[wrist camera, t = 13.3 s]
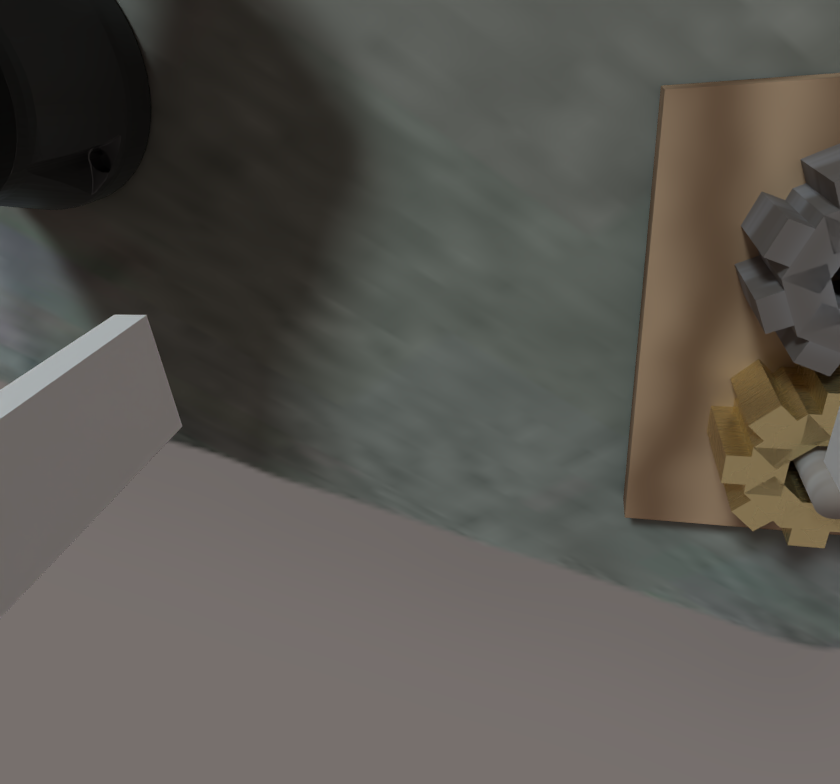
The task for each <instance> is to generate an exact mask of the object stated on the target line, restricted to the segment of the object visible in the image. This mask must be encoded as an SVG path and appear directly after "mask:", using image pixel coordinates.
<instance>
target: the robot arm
mask: <svg viewBox="0 0 840 784" xmlns="http://www.w3.org/2000/svg"><path fill="white" fill-rule="evenodd" d="M150 118H151V105H150V93H149V85H148V80H147V75H146V70H145V66H144V63H143V59H142V56H141V53H140V50H139V47H138V45H137V42H136V40H135V37H134V35H133V32H132V30H131V28H130V26H129V24H128V22H127V20H126V18H125V17H124V15H123V13H122V11H121V10H120V8H119V6H118V5H117V3H116V1H115V0H0V206H8V207H21V208H34V209H47V210H58V209H68V208H74V207H78V206H81V205H84V204H87V203H90V202H92V201H95V200H98V199H100V198H103V197H105V196H108V195H109V194H111V193H113V192H115V191H116V190H118V189H119V188H120V187H121V186H123V185H124V184H125V183H126V182H127V181H128V180H129V178H130V177H131V176H132V175H133V173H134V172H135V170H136V169H137V167H138V165H139V163H140V161H141V159H142V156H143V154H144V151H145V148H146V145H147V140H148V136H149V129H150ZM181 427H182V423H181V420H180V417H179V414H178V411H177V408H176V405H175V402H174V398H173V395H172V392H171V389H170V386H169V383H168V380H167V377H166V374H165V371H164V367H163V364H162V361H161V358H160V355H159V352H158V349H157V346H156V343H155V340H154V336H153V333H152V330H151V327H150V324H149V321H148V318H147V315H113V316H112V317H110V318H109V319H107V320H106V321H104V322H102V323H101V324H99V325H98V326H96V327H95V328H93V329H92V330H90V331H89V332H87V333H86V334H84V335H83V336H81V337H80V338H78V339H77V340H75V341H74V342H72V343H71V344H69V345H68V346H66V347H65V348H63V349H62V350H60V351H59V352H57V353H56V354H54V355H53V356H51V357H49V358H48V359H46V360H45V361H43V362H42V363H40V364H39V365H37V366H36V367H34V368H33V369H31V370H30V371H28V372H27V373H25V374H24V375H22V376H21V377H19V378H18V379H16V380H15V381H13V382H12V383H10V384H9V385H7V386H6V387H4V388H3V389H1V390H0V618H1V617H2V616H3V615H4V614H5V613H6V612H7V611H8V610H9V609H10V608H11V607H12V606H13V605H14V604H15V602H16V601H17V600H18V599H19V598H20V597H21V596H22V595H23V594H24V593H25V592H26V591H27V590H28V589H29V588H30V587H31V586H32V585H33V583H34V582H35V581H36V580H37V579H38V578H39V577H40V576H41V575H42V574H43V573H44V572H45V571H46V570H47V568H48V567H50V566H51V564H52V563H53V562H54V561H55V560H56V559H57V558H58V557H59V556H60V555H61V554H62V553H63V552H64V551H65V550H66V549H67V548H68V547H69V546H70V544H71V543H72V542H73V541H74V540H75V539H76V538H77V537H78V536H79V535H80V534H81V533H82V532H83V531H84V529H86V528H87V527H88V525H89V524H90V523H91V522H92V521H93V520H94V519H95V518H96V517H97V516H98V515H99V514H100V513H101V512H102V511H103V510H104V509H105V508H106V506H107V505H108V504H109V503H110V502H111V501H112V500H113V499H114V498H115V497H116V496H117V495H118V494H119V493H120V492H121V491H122V490H123V489H124V487H125V486H126V485H127V484H128V483H129V482H130V481H131V480H132V479H133V478H134V477H135V476H136V475H137V474H138V473H139V472H140V471H141V470H142V469H143V467H144V466H145V465H146V464H147V463H148V462H149V461H150V460H151V459H152V458H153V457H154V456H155V455H156V454H157V453H158V452H159V451H160V450H161V448H162V447H163V446H164V445H165V444H166V443H167V442H168V441H169V440H170V439H171V438H172V437H173V436H174V435H175V434H176V433H177V432H178V431H179V429H180V428H181ZM824 463H825V465H826V467H827V468H828V470H829V472H830V474H831V476H832V478H833V480H834V481H835V483H836V485H837V487H838V489H839V491H840V407H839V410H838V414H837V417H836V420H835V424H834V427H833V431H832V434H831V437H830V441H829V444H828V448H827V451H826V455H825V458H824Z"/></svg>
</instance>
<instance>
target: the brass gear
mask: <svg viewBox="0 0 840 784" xmlns="http://www.w3.org/2000/svg"><path fill="white" fill-rule="evenodd" d="M730 379H731V382H732V385H733V387H734V390H735V392H736V395H737V397H736V398H735V400H734V405H733V407H727V406H711V408H710V414H709V420H708V426H707V435H708V438H709V442H710V445H711V449H712V453H713V456H714V460H715V463H716V467H717V471H718V474H719V478H720V481H721V483H723V484H724V487H725V491H726V494H727V498H728V502H729V505H730V509H731V512H733V513H734V514H735V515H736V516H737V517H738V518H739V519H740V520H741V521H742V522H743V523H744V524H746V525H747V526H748V527H749V528H750V529H751V530H752V531H754V530H756V529H758V528H760V527H762V526H764V525H766V524H768V523H770V522H771V521H774V522H775V523H776V524H777V525H778V526H779V527H781V529H782V531H783V534H784V537H785V539H786V542H787V545H792V546H804V547H815V548H825V545H826V542H827V538H828V535H829V532H840V519H829V518H826V517H823V516H821V515H820V514H818V513H817V512H816V510H815V509H814V507H813V504H812V502H811V500H810V498H809V496H808V493H807V491H806V489H805V487H804V485H803V482H802V480H801V478H800V476H799V474H798V471H797V469H796V467H795V465H794V463H793V459H795V458H797V457H799V456H800V455H802V454H804V453H806V452H807V451H809V450H811V449H813V448H814V447H816V446H828V444H829V441H830V437H831V434H832V431H833V427H834V424H835V420H836V417H837V414H838V410H839V407H840V365H839V366H838V367H837V368H836V370H835V371H834V372H833V373H832V375H831V376H827V375H825V374H822V373H820V372H817V371H814V370H812V369H809V368H807V367H804V366H801V365H799V364H796V363H795V366H794V367H781V368H780V369H778V370H777V371H775V372H773V373H772V372H771V371H770V370H769V369H768V368H767V367H766V366H765V365H764V364H763V363H762V362H761V361H760V360H759V359H758V360H756V361H755V362H753V363H752V364H751V365H749V366H748V367H746V368H745V369H743V370H742V371H740V372H739V373H737V374H736V375H734V376H733V377H731V378H730Z"/></svg>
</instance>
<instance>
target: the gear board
mask: <svg viewBox="0 0 840 784" xmlns="http://www.w3.org/2000/svg"><path fill="white" fill-rule="evenodd" d="M758 359H759V360H760V361H761V362H762V363H763V364H764V365H765V366H766V367H767V368H768V369H769V370H770V371H771V372H772V373H773V372H775V371H777V370H778V369H780V368H781V367H794V366H795V363H796V364H799V365H801V366H804V367H807V368H809V369H812V370H814V371H817V372H820V373H822V374H825V375H827V376H831V375H832V373H833V372H834V371H835V370H836V368H837V367H838V366H839V365H840V73H832V74H818V75H804V76H790V77H776V78H762V79H748V80H734V81H720V82H706V83H692V84H678V85H664V86H661V92H660V103H659V114H658V124H657V135H656V146H655V157H654V168H653V179H652V190H651V201H650V212H649V223H648V234H647V245H646V256H645V267H644V278H643V289H642V300H641V311H640V322H639V333H638V344H637V355H636V366H635V377H634V388H633V399H632V410H631V421H630V432H629V443H628V454H627V465H626V476H625V487H624V498H623V499H624V514H625V517H626V518H638V519H650V520H662V521H675V522H687V523H699V524H711V525H723V526H736V527H748V526H747V525H746V524H744V523H743V522H742V521H741V520H740V519H739V518H738V517H737V516H736V515H735V514H734V513H733V512H731V509H730V505H729V502H728V498H727V494H726V491H725V487H724V484H723V483H721V481H720V478H719V474H718V471H717V467H716V463H715V460H714V456H713V453H712V449H711V445H710V442H709V438H708V435H707V426H708V420H709V414H710V408H711V406H727V407H733V405H734V400H735V398H736V397H737V395H736V392H735V390H734V387H733V385H732V382H731V379H730V378H731V377H733V376H734V375H736V374H737V373H739V372H740V371H742V370H743V369H745V368H746V367H748V366H749V365H751V364H752V363H753V362H755V361H756V360H758ZM827 448H828V446H816V447H814V448H813V449H811V450H809V451H807V452H806V453H804V454H802V455H800V456H799V457H797V458H795V459H793V463H794V465H795V467H796V469H797V471H798V474H799V476H800V478H801V480H802V482H803V485H804V487H805V489H806V491H807V493H808V496H809V498H810V500H811V502H812V504H813V507H814V509H815V510H816V512H817V513H818V514H820V515H821V516H823V517H826V518H829V519H840V491H839V489H838V487H837V485H836V483H835V481H834V480H833V478H832V476H831V474H830V472H829V470H828V468H827V467H826V465H825V463H824V458H825V455H826V451H827ZM748 528H749V527H748ZM760 529H772V530H782V529H781V527H779V526H778V525H777V524H776V523H775V522H774V521H771V522H770V523H768V524H766V525H764V526H762V527H760ZM829 534H833V535H840V532H829Z"/></svg>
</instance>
